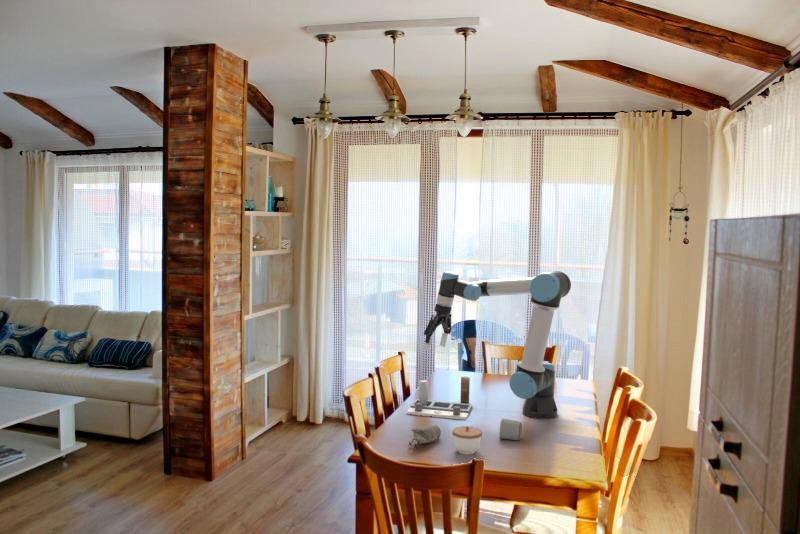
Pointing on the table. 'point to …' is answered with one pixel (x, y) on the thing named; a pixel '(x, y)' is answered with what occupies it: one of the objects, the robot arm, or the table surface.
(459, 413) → the plaque
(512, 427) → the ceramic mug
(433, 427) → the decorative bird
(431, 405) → the pin board
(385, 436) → the table surface
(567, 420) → the table surface
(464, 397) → the walnut pin
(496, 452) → the table surface
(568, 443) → the table surface
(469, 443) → the lidded jar
